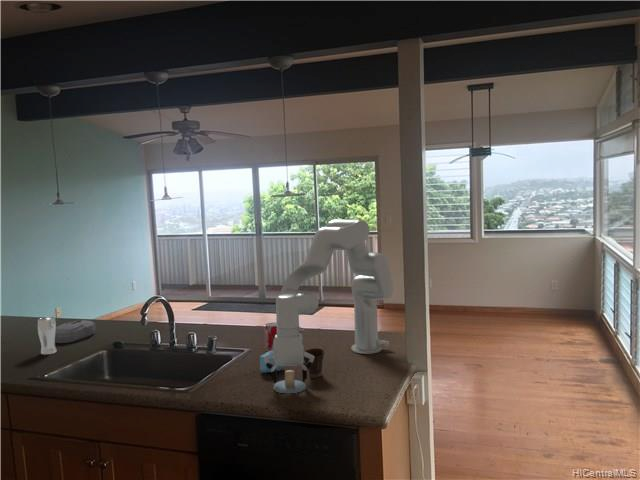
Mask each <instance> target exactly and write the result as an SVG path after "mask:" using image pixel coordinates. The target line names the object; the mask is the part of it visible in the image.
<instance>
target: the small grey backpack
mask: <svg viewBox="0 0 640 480" xmlns="http://www.w3.org/2000/svg"><path fill="white" fill-rule="evenodd" d="M96 330H97V327H96V324H95V322H93V321H92V320H82V319H78V320H77V319H74V320H71V321H68V322H65V323H62V324H60V325H58V326H57V325H56V338H55V344H68V343H73V342H78V341H81V340H84V339H86V338H88V337H90V336H92V335H94V334H95V333H96Z"/></svg>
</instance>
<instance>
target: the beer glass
mask: <svg viewBox="0 0 640 480" xmlns="http://www.w3.org/2000/svg"><path fill="white" fill-rule="evenodd" d="M56 327H57V322H56V317H53V316H46V317H41V318H38V319H37V332H38V333H37V334H38V337H39V341H40V346H41V349H40V355H43V356H48V355H53V354H56V353H57V351H58V349H57V346H56V343H55V338H56Z"/></svg>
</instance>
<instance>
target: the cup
mask: <svg viewBox="0 0 640 480" xmlns="http://www.w3.org/2000/svg"><path fill="white" fill-rule="evenodd" d="M304 351H305V352H307V353H309V354H311V355H313V356H314V357H315V358H314V361H313V363H312V365H311V366H310V367H309V368H308V369H307V370H308V374H309V378H311V379H317V378H320V377H322V375H323V360H324V356H325V350H324V349H322V348H308V349H305V350H304ZM309 360H310V359H309V358H307V357H305V356H304V362H305V363H307V362H308V361H309Z"/></svg>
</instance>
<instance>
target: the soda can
mask: <svg viewBox="0 0 640 480" xmlns="http://www.w3.org/2000/svg"><path fill="white" fill-rule="evenodd" d="M263 331H264V333H263V336H264V337H263V339H264V351H265V353H267V352H269V351H274V339H275V335H277V322H268V323H266V324H265V326H264V329H263Z"/></svg>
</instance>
